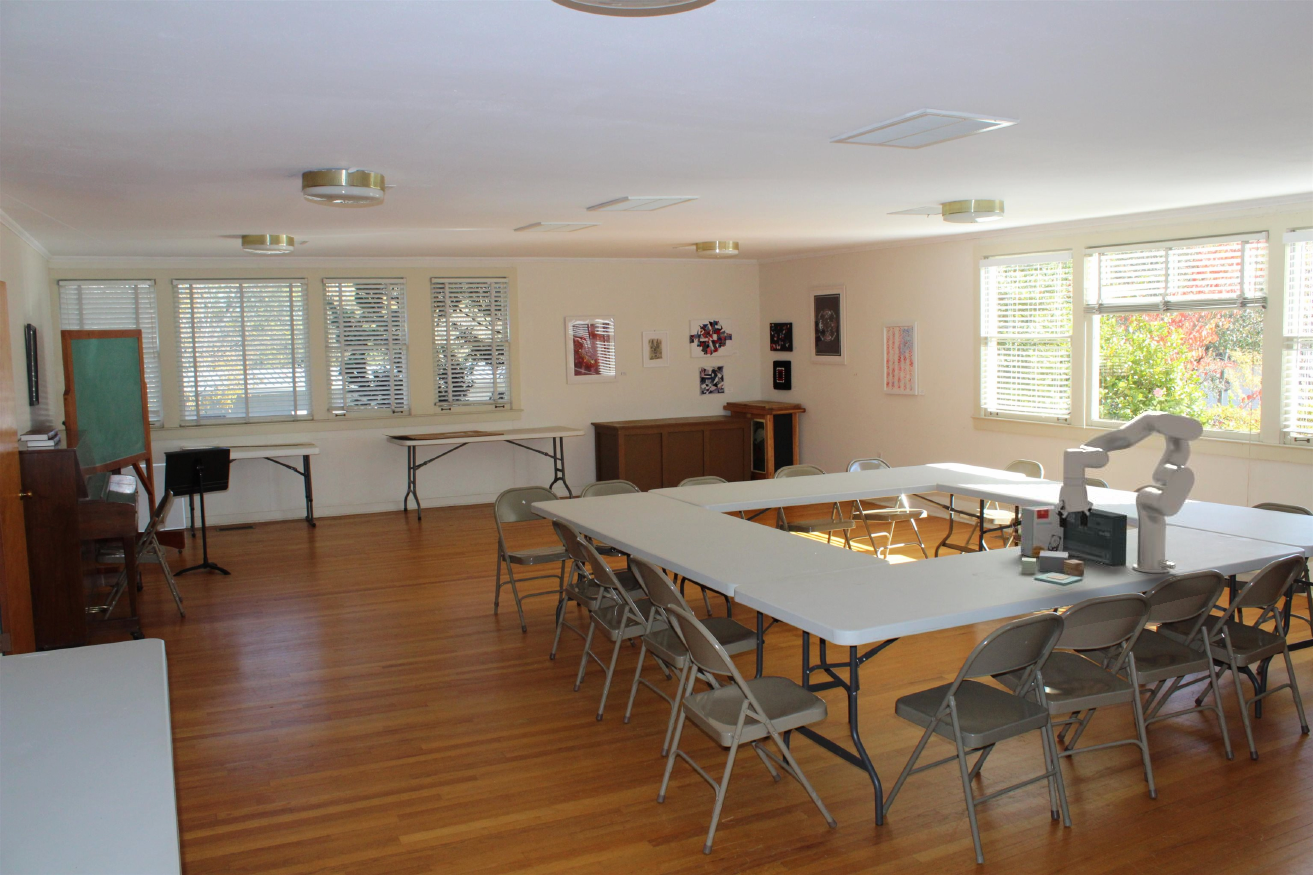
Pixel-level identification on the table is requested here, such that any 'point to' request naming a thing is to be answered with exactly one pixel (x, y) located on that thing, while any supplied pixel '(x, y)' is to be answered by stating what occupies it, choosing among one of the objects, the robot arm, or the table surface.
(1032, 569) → the sage cube
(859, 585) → the table surface
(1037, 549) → the hard drive box
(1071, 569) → the walnut cube
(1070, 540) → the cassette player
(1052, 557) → the plinth
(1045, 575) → the board
